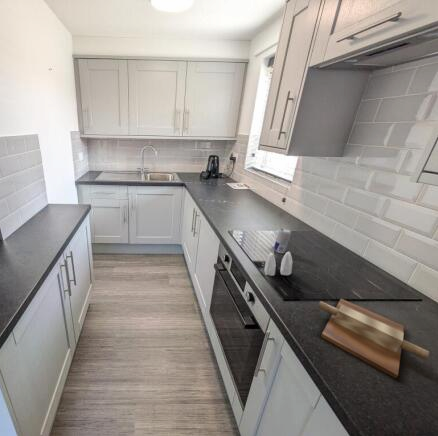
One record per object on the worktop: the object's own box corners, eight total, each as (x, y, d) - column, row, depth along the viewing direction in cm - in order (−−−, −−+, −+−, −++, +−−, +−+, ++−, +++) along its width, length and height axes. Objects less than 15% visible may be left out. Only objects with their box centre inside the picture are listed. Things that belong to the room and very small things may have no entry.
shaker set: (288, 272, 101) (295, 249, 96) (293, 277, 97) (301, 255, 93) (260, 270, 101) (266, 248, 97) (265, 276, 97) (271, 253, 93)
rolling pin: (315, 312, 76) (319, 301, 74) (319, 306, 79) (323, 296, 77) (422, 366, 59) (431, 354, 58) (423, 356, 62) (431, 344, 60)
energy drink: (275, 247, 121) (281, 227, 116) (286, 251, 117) (292, 230, 113) (271, 251, 118) (277, 229, 113) (282, 255, 114) (289, 233, 109)
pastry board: (339, 302, 84) (340, 298, 83) (401, 330, 73) (404, 326, 72) (320, 338, 69) (322, 333, 68) (395, 380, 58) (398, 375, 57)
